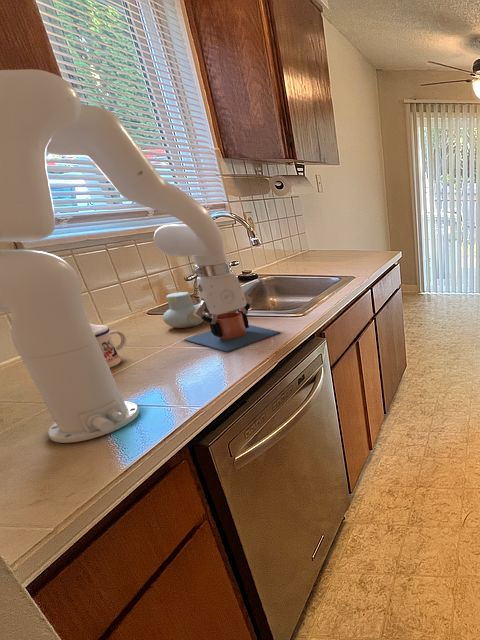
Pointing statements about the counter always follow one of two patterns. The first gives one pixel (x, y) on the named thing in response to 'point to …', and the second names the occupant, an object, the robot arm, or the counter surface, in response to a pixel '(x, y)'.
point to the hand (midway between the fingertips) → (231, 331)
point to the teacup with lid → (108, 343)
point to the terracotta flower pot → (231, 325)
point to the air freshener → (181, 311)
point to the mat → (229, 345)
